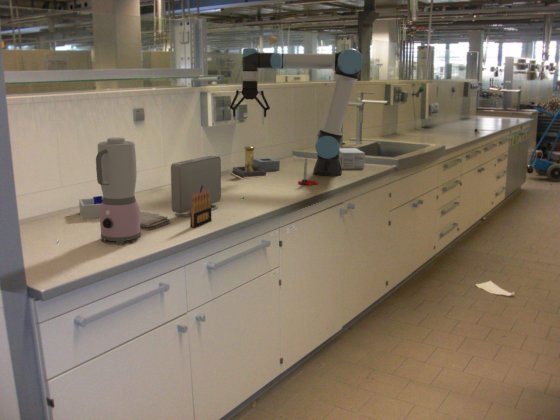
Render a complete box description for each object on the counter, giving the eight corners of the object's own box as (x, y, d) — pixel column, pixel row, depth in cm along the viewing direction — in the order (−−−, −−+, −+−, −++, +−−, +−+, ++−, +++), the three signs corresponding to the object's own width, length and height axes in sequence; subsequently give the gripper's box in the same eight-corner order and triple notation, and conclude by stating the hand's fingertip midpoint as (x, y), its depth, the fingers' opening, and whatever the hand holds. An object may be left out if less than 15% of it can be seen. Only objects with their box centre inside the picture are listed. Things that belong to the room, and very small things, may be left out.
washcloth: (150, 232, 186) (150, 223, 185) (109, 224, 194) (109, 216, 193) (172, 224, 196) (172, 215, 196) (132, 217, 204) (132, 209, 203)
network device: (185, 220, 200) (183, 165, 195) (166, 216, 204) (164, 162, 199) (225, 206, 222) (225, 156, 217) (207, 203, 226) (207, 154, 221)
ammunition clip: (194, 228, 190) (194, 194, 187) (190, 227, 191) (189, 193, 188) (211, 221, 200) (211, 188, 197) (207, 220, 201) (207, 187, 198)
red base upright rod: (306, 181, 275) (296, 183, 268) (307, 156, 273) (297, 157, 265) (320, 184, 271) (311, 186, 263) (322, 157, 268) (312, 159, 261)
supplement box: (334, 163, 329) (335, 148, 327) (356, 163, 331) (356, 148, 329) (341, 168, 313) (342, 152, 310) (364, 168, 315) (365, 152, 312)
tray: (265, 176, 283) (266, 171, 282) (244, 178, 278) (244, 172, 277) (253, 171, 297) (254, 166, 296) (232, 172, 292) (232, 167, 291)
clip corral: (135, 214, 206) (135, 201, 205) (83, 219, 198) (82, 205, 197) (130, 208, 215) (129, 195, 214) (79, 212, 207) (79, 199, 206)
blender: (117, 231, 184) (112, 135, 176) (148, 236, 180) (145, 137, 172) (85, 244, 170) (78, 140, 162) (118, 250, 166) (113, 143, 158)
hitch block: (279, 172, 297) (279, 160, 296) (260, 173, 293) (260, 161, 291) (271, 168, 307) (271, 157, 306) (252, 169, 303) (252, 158, 301)
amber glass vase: (255, 174, 286) (256, 147, 283) (246, 174, 284) (246, 147, 281) (252, 172, 291) (252, 145, 287) (242, 173, 289) (242, 146, 285)
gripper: (274, 80, 280) (274, 123, 285) (225, 79, 279) (225, 122, 284) (275, 81, 273) (274, 124, 278) (224, 80, 272) (224, 123, 277)
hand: (249, 123), depth 281 cm, fingers open, 13 cm apart
